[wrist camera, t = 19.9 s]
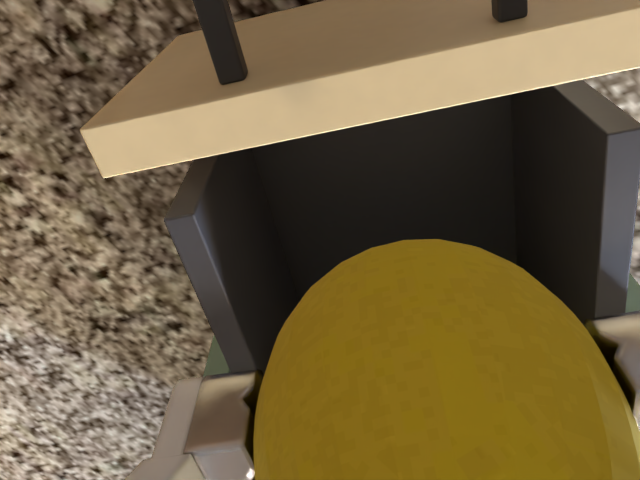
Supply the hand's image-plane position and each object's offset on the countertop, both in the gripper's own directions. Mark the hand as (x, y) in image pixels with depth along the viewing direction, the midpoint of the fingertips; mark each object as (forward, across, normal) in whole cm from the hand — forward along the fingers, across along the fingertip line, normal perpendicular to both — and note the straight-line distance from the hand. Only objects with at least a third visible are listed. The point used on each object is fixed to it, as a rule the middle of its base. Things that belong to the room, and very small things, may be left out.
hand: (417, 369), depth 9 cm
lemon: (+3, 0, 0) cm, 3 cm away
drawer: (+13, 0, +1) cm, 13 cm away
